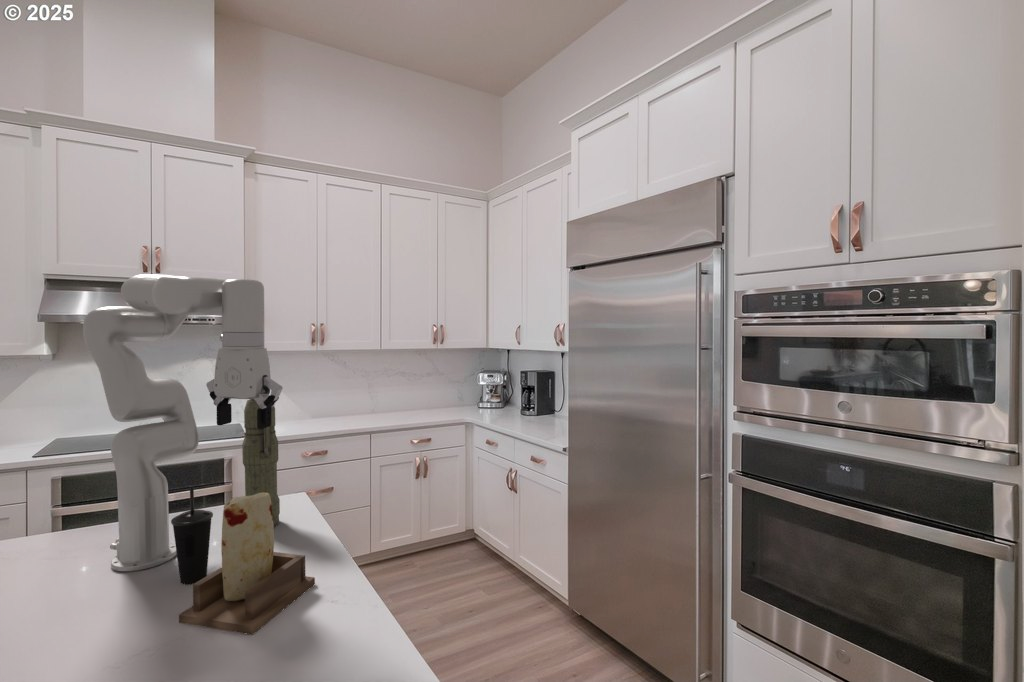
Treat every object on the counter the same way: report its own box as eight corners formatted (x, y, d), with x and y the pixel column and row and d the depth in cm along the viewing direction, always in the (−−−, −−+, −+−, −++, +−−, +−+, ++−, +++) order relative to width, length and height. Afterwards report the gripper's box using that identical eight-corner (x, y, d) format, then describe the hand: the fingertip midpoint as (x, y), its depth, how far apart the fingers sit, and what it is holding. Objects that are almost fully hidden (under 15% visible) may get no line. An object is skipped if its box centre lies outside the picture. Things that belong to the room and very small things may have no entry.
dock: (178, 622, 94) (178, 588, 94) (250, 575, 111) (250, 546, 111) (252, 634, 90) (251, 598, 90) (314, 584, 108) (314, 554, 107)
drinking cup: (222, 574, 112) (220, 484, 111) (187, 591, 105) (185, 495, 104) (199, 567, 115) (197, 480, 115) (164, 583, 108) (162, 490, 108)
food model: (231, 611, 95) (229, 505, 94) (215, 599, 99) (212, 498, 98) (281, 589, 103) (279, 491, 102) (264, 579, 107) (262, 485, 106)
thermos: (268, 515, 147) (265, 394, 146) (288, 525, 140) (285, 398, 138) (235, 524, 140) (233, 398, 139) (255, 535, 133) (252, 402, 132)
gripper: (192, 340, 101) (193, 426, 101) (266, 343, 96) (266, 432, 97) (223, 339, 108) (223, 419, 109) (293, 341, 103) (293, 425, 104)
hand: (244, 425), depth 103 cm, fingers open, 9 cm apart
